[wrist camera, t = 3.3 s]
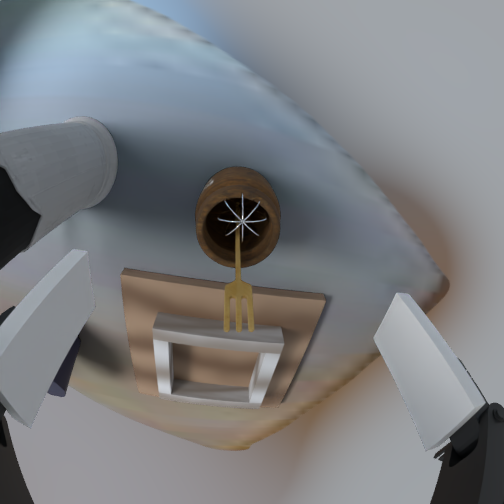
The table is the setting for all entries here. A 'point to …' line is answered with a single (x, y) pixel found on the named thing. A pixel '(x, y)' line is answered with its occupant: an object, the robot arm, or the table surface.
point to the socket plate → (214, 340)
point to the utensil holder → (237, 229)
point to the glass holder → (51, 178)
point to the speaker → (65, 371)
